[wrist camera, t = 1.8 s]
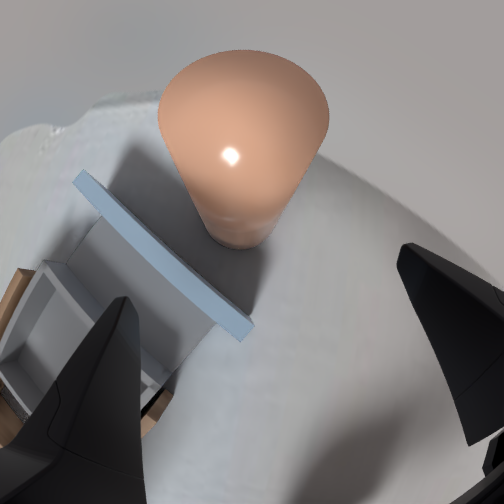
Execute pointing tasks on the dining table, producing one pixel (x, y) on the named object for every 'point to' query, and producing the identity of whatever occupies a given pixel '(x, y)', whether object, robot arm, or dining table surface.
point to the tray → (102, 294)
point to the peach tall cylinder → (242, 139)
